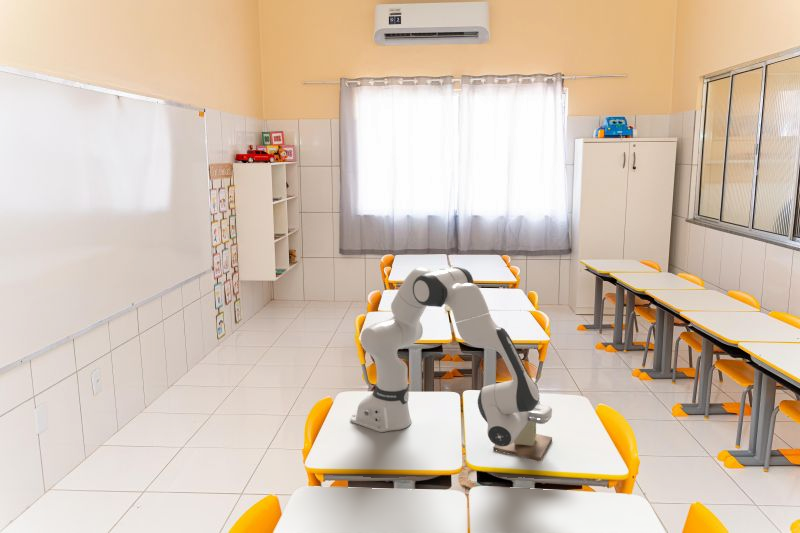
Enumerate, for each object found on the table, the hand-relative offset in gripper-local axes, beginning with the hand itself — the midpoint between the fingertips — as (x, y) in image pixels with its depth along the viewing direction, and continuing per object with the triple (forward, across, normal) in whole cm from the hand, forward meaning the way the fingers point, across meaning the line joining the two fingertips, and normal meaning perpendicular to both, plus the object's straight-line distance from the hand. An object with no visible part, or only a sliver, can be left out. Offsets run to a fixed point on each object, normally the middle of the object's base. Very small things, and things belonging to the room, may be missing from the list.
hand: (525, 400), depth 213 cm
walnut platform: (-1, 0, +16) cm, 16 cm away
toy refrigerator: (-1, -1, +14) cm, 14 cm away
